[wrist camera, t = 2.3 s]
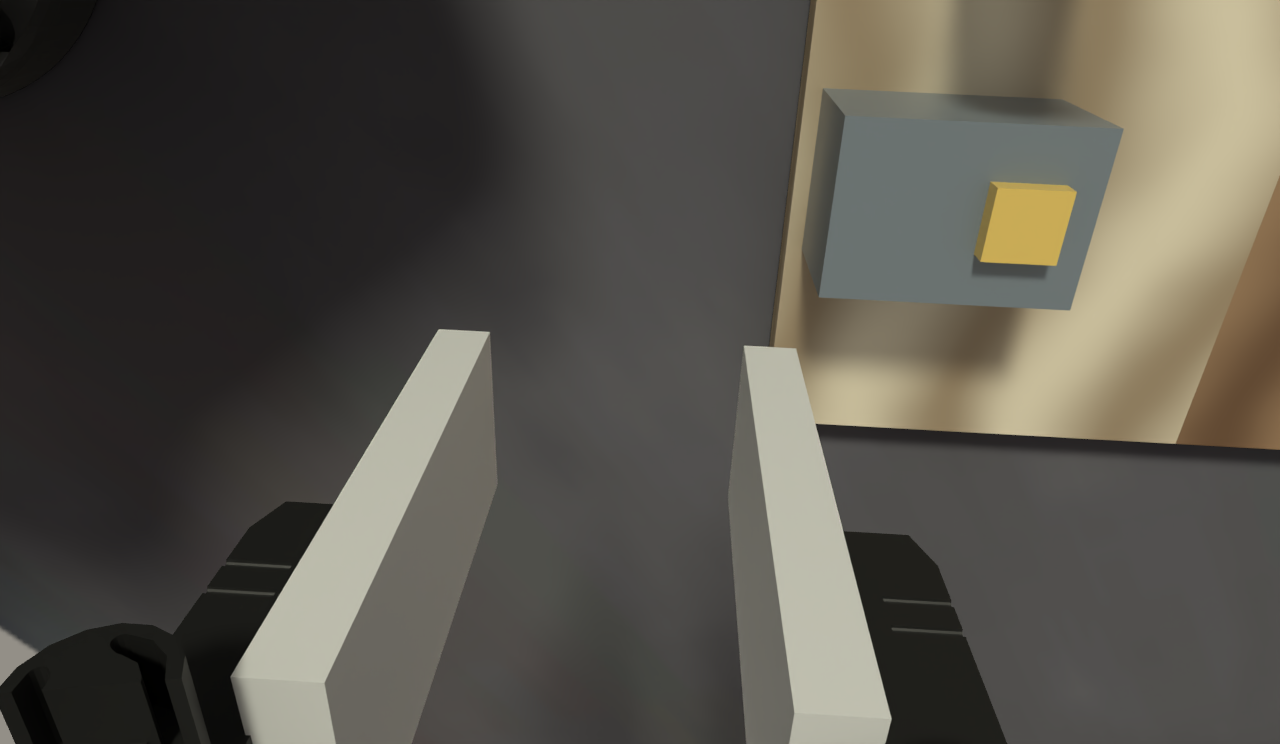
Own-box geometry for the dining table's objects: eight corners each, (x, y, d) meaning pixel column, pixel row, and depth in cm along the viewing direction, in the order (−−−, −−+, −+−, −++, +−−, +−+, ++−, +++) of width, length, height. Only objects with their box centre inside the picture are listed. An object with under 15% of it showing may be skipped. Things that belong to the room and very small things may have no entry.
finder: (801, 249, 28) (821, 305, 24) (822, 88, 25) (849, 120, 21) (1020, 260, 28) (1078, 319, 24) (1062, 99, 25) (1135, 133, 21)
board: (762, 404, 32) (764, 421, 31) (820, -85, 24) (827, -86, 23) (1423, 440, 31) (1449, 459, 30) (1691, -49, 24) (1738, -47, 23)
